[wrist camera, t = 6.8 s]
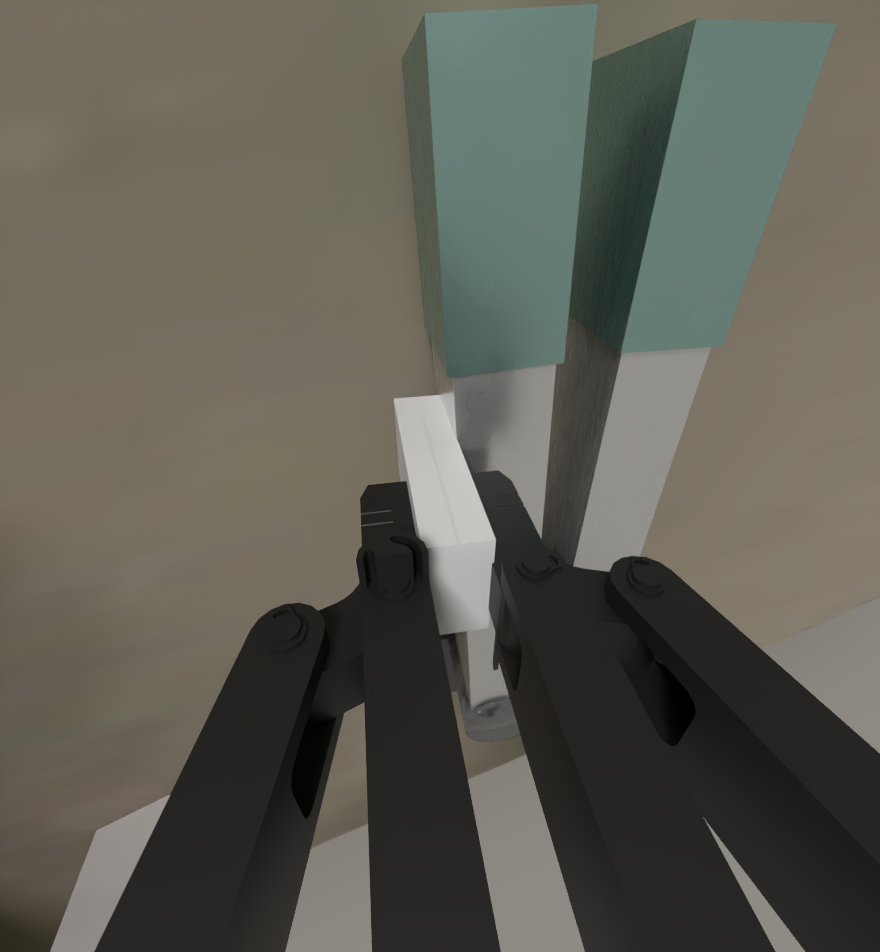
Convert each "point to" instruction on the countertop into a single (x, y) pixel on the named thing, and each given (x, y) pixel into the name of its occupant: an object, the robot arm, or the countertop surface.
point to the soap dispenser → (105, 878)
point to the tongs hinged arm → (498, 251)
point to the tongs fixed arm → (662, 259)
